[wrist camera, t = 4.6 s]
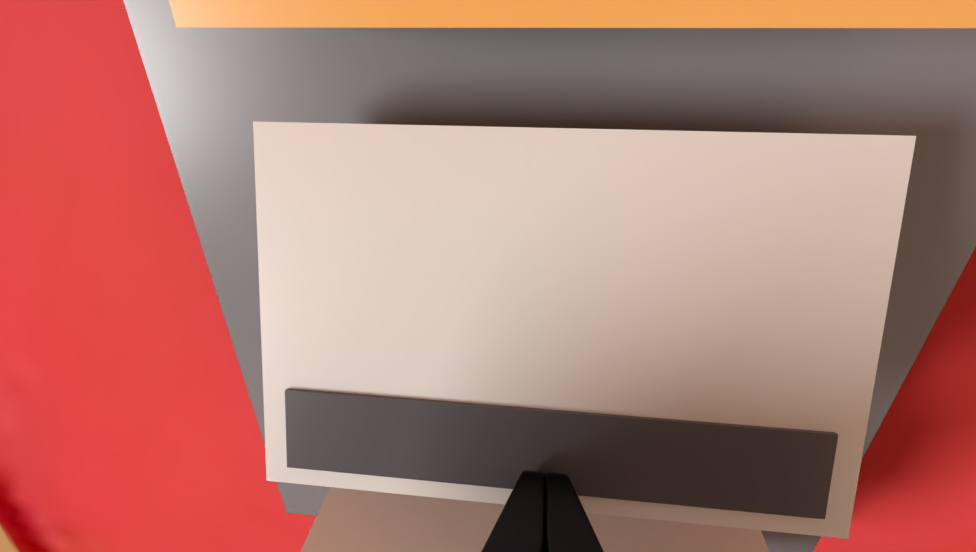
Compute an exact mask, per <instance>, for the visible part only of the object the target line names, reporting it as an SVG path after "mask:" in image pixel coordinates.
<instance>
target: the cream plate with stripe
mask: <svg viewBox="0 0 976 552" xmlns="http://www.w3.org/2000/svg"><path fill="white" fill-rule="evenodd" d="M253 135H254V162H255V188H256V215H257V241H258V267H259V294H260V320H261V346H262V373H263V399H264V426H265V452H266V478H267V481H275V482H285V483H295V484H305V485H315V486H325V487H335V488H345V489H355V490H365V491H375V492H385V493H395V494H405V495H414V496H424V497H434V498H444V499H454V500H464V501H474V502H484V503H494V504H504V505H505V504H506V502H507V500H508V498H509V496H510V494H511V492H512V490H513V488H514V486H515V484H516V482H517V480H518V478H519V476H520V474H521V473H522V472H523V471H525V470H529V471H539V472H543V473H544V475H546V474H547V473H549V472H550V473H561V474H566V475H567V476H568V477H569V478H570V480H571V482H572V484H573V486H574V489H575V491H576V493H577V495H578V497H579V499H580V501H581V504H582V506H583V508H584V510H585V512H586V513H594V514H604V515H614V516H624V517H634V518H644V519H654V520H664V521H674V522H684V523H694V524H704V525H713V526H723V527H733V528H743V529H753V530H763V531H773V532H783V533H793V534H803V535H813V536H823V537H833V538H843V539H848V537H849V531H850V525H851V519H852V513H853V507H854V501H855V496H856V490H857V484H858V478H859V472H860V466H861V460H862V454H863V448H864V442H865V436H866V431H867V425H868V419H869V413H870V407H871V401H872V395H873V389H874V383H875V377H876V371H877V365H878V360H879V354H880V348H881V342H882V336H883V330H884V324H885V318H886V312H887V306H888V300H889V294H890V289H891V283H892V277H893V271H894V265H895V259H896V253H897V247H898V241H899V235H900V229H901V224H902V218H903V212H904V206H905V200H906V194H907V188H908V182H909V176H910V170H911V164H912V158H913V153H914V147H915V141H916V136H901V135H855V134H809V133H763V132H716V131H670V130H624V129H578V128H532V127H485V126H439V125H393V124H347V123H301V122H254V121H253Z"/></svg>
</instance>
